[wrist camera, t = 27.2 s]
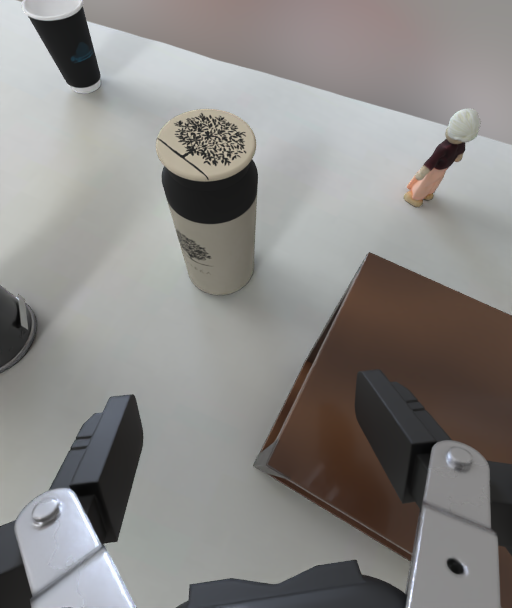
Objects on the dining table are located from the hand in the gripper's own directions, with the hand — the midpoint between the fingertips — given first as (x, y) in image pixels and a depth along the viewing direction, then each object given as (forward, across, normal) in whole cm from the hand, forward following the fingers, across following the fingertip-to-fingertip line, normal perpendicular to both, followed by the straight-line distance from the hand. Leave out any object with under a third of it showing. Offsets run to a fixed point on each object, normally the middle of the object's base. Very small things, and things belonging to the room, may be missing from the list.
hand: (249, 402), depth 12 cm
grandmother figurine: (+37, -27, -2) cm, 46 cm away
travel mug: (+31, +1, +4) cm, 31 cm away
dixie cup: (+58, +21, -21) cm, 65 cm away
